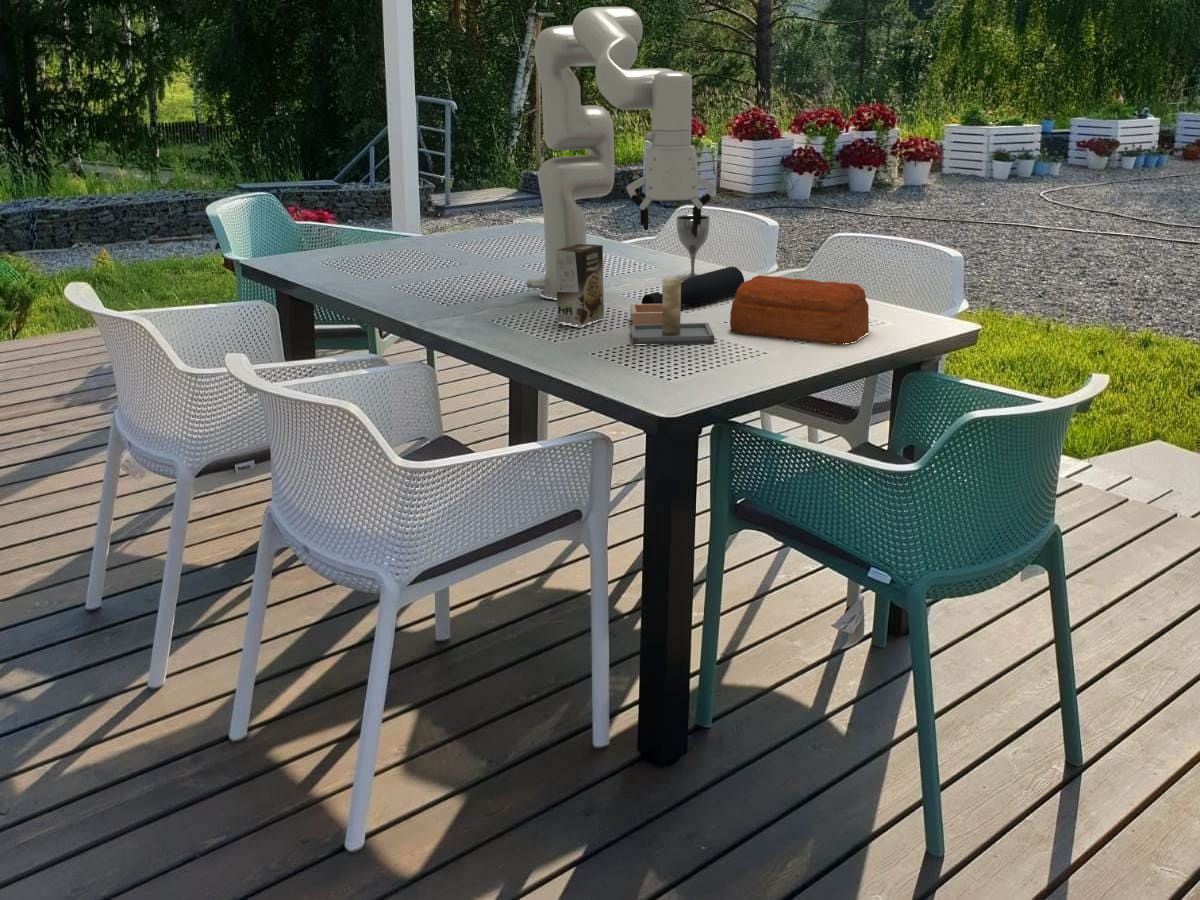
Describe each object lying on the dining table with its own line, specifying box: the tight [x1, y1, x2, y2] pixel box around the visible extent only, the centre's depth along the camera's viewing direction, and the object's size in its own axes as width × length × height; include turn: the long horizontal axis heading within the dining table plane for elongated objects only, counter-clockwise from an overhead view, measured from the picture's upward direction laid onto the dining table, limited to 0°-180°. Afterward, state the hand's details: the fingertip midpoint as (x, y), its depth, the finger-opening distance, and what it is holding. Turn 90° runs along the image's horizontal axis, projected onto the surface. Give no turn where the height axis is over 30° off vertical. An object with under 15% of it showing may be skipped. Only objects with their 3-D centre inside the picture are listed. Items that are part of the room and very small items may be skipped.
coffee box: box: [556, 243, 605, 325], centre depth 260 cm, size 9×6×16 cm
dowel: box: [662, 277, 682, 336], centre depth 246 cm, size 4×4×11 cm
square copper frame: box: [630, 303, 662, 325], centre depth 260 cm, size 9×9×3 cm
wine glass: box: [676, 214, 710, 282], centre depth 302 cm, size 8×8×15 cm
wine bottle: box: [641, 266, 745, 306], centre depth 275 cm, size 6×6×30 cm
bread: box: [729, 274, 870, 345], centre depth 250 cm, size 16×27×11 cm, turn 59°
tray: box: [629, 322, 715, 346], centre depth 248 cm, size 16×11×2 cm
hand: (670, 228), depth 242 cm, fingers open, 9 cm apart
